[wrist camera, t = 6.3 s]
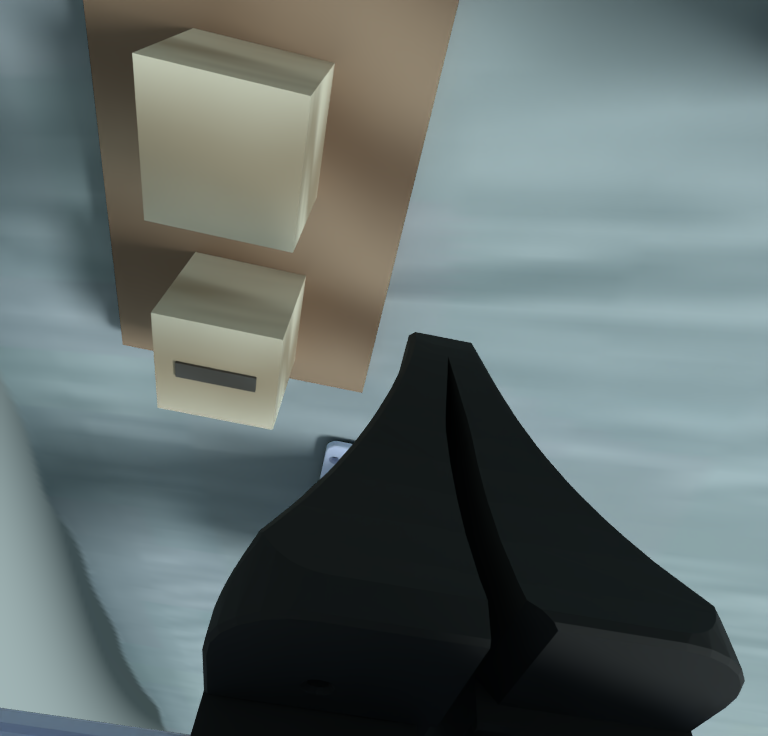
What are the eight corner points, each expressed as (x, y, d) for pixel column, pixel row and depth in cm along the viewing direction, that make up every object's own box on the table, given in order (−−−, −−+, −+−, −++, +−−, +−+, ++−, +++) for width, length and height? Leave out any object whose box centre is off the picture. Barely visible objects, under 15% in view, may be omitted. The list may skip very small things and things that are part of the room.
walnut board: (364, 377, 24) (362, 392, 23) (133, 330, 23) (122, 344, 22) (536, -329, 12) (544, -347, 11) (53, -480, 11) (23, -512, 10)
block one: (294, 360, 22) (271, 432, 19) (196, 340, 22) (156, 409, 19) (305, 275, 20) (282, 342, 17) (195, 252, 20) (149, 314, 16)
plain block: (316, 197, 18) (292, 252, 15) (194, 169, 18) (144, 220, 15) (335, 63, 16) (310, 96, 12) (193, 28, 15) (131, 52, 12)
